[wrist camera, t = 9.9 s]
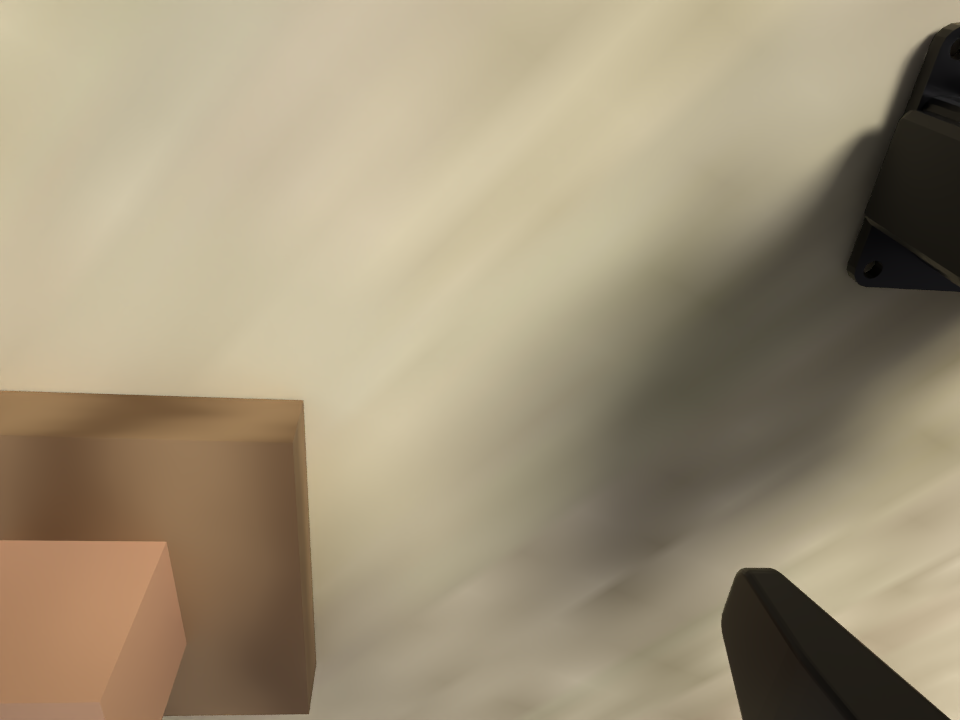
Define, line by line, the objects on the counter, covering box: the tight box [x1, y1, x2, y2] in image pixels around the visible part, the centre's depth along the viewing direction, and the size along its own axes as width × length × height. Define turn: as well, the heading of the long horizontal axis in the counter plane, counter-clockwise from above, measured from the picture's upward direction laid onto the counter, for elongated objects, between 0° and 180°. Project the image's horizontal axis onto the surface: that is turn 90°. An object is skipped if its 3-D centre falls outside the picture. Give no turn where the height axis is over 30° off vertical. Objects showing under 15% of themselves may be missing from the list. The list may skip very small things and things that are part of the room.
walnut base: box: [0, 391, 316, 716], centre depth 22 cm, size 12×12×2 cm
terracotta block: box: [0, 540, 187, 720], centre depth 19 cm, size 4×4×5 cm
